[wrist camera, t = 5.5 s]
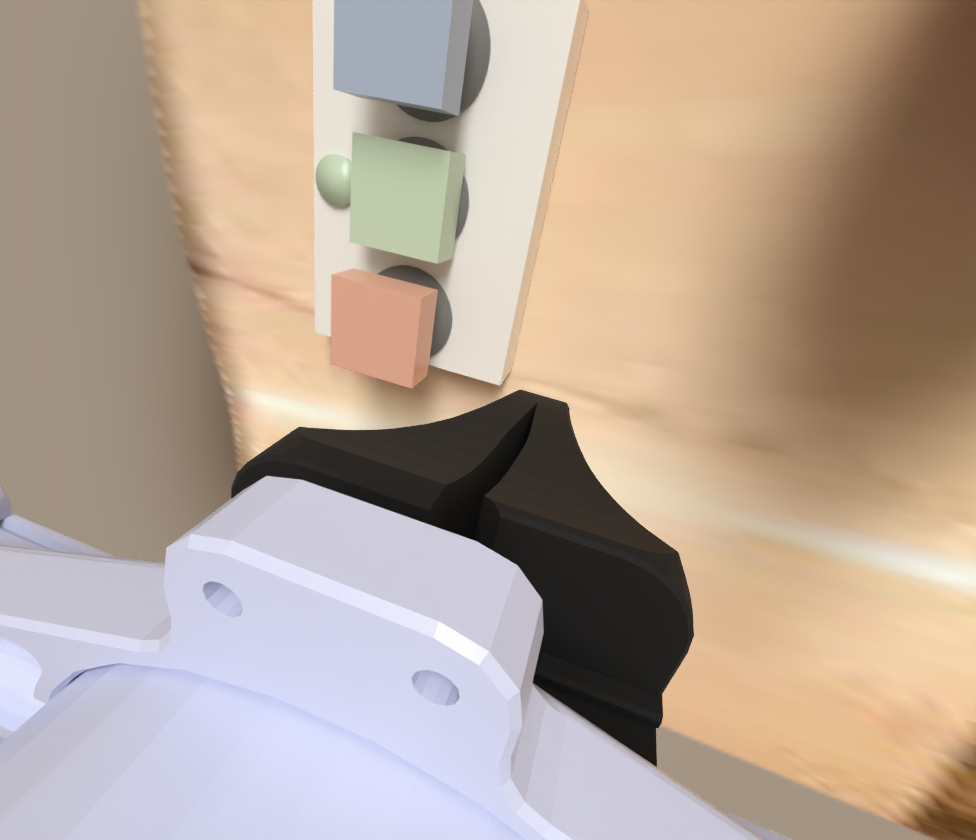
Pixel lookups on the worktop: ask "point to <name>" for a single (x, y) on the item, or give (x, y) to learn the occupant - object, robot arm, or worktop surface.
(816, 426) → the worktop surface
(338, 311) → the terracotta button
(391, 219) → the sage button
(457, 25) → the slate button
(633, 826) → the robot arm
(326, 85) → the console
